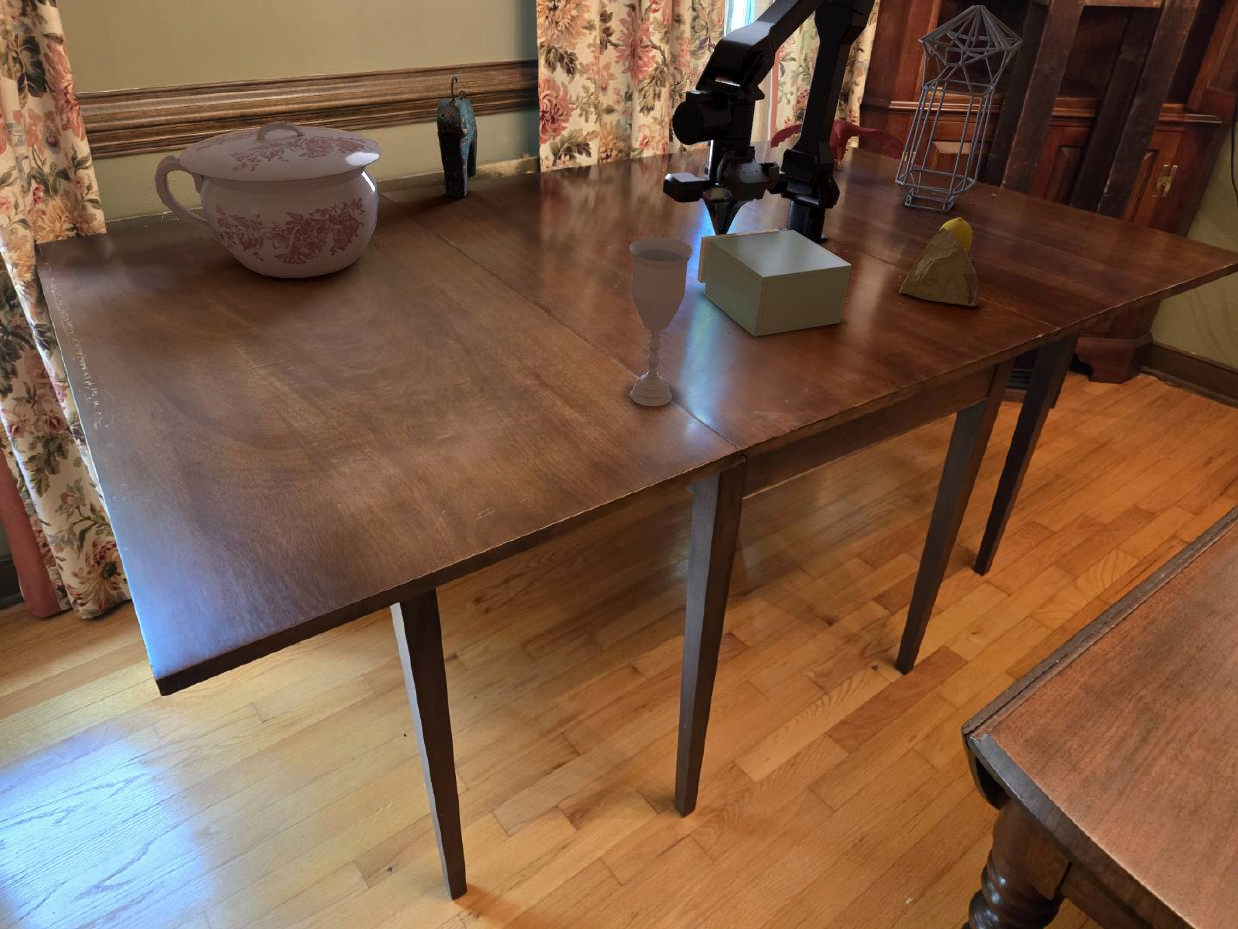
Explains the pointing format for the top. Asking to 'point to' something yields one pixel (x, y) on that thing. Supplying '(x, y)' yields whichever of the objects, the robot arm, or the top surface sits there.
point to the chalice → (657, 304)
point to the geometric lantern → (934, 39)
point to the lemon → (960, 231)
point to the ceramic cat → (457, 141)
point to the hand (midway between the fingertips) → (720, 238)
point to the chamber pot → (282, 196)
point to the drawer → (706, 243)
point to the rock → (943, 273)
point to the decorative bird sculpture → (844, 138)
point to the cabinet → (776, 282)
